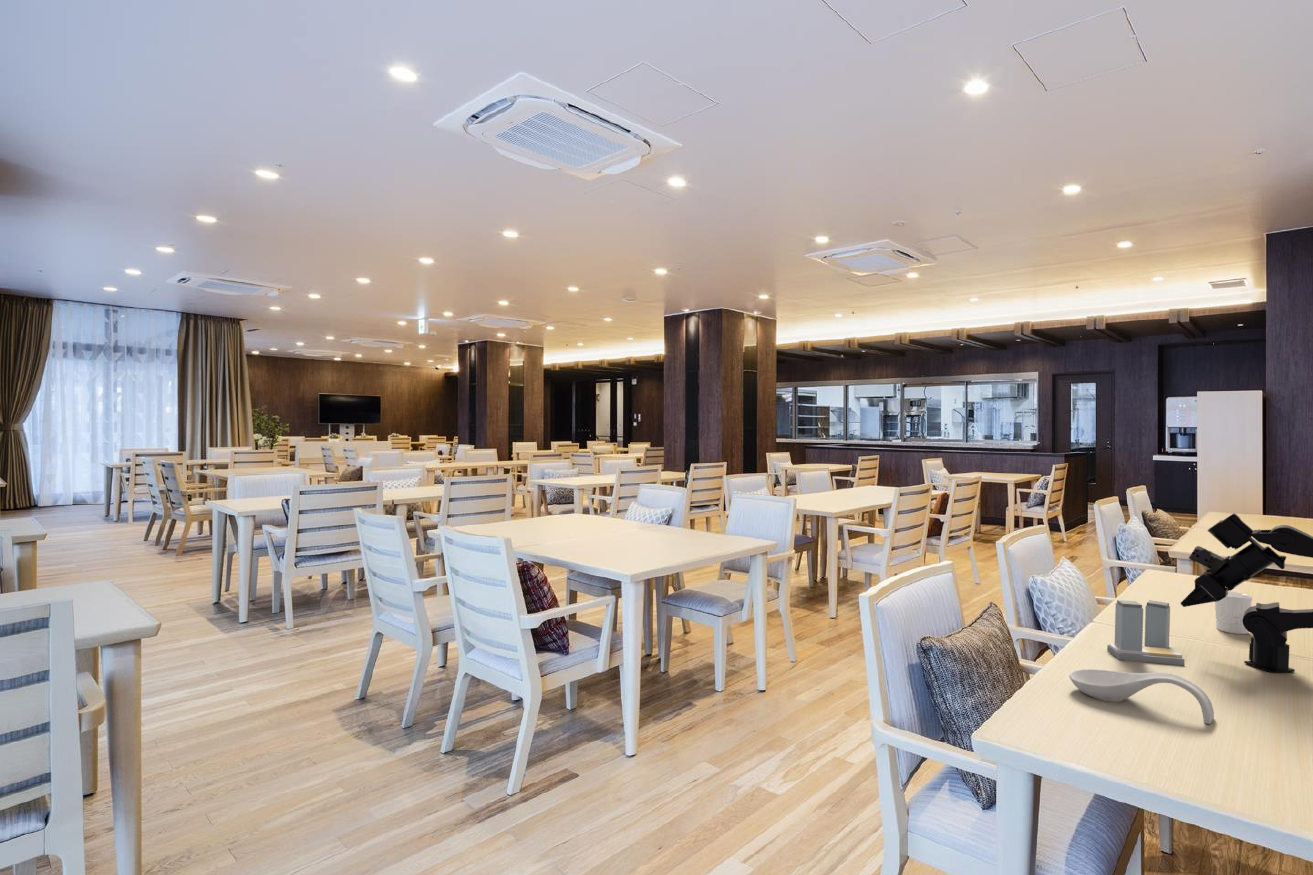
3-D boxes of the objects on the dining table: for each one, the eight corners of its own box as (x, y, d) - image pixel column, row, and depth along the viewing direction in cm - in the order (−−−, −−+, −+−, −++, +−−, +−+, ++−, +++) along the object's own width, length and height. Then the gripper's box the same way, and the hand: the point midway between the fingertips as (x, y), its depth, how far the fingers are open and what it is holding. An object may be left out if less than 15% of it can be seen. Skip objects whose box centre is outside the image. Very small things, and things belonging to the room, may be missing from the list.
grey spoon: (1062, 695, 143) (1063, 661, 143) (1077, 681, 152) (1078, 648, 151) (1208, 732, 127) (1210, 693, 127) (1216, 713, 135) (1217, 676, 135)
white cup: (1258, 635, 188) (1260, 598, 188) (1229, 634, 188) (1230, 597, 188) (1235, 626, 196) (1236, 591, 195) (1206, 626, 196) (1207, 590, 196)
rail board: (1170, 655, 169) (1170, 647, 169) (1184, 665, 162) (1184, 656, 162) (1107, 650, 172) (1107, 642, 172) (1118, 659, 166) (1118, 651, 166)
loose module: (1169, 646, 177) (1170, 603, 176) (1165, 649, 174) (1166, 605, 174) (1148, 642, 180) (1149, 599, 180) (1144, 645, 177) (1145, 602, 177)
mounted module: (1135, 646, 170) (1136, 601, 169) (1142, 651, 166) (1143, 605, 166) (1114, 644, 171) (1115, 599, 171) (1121, 649, 167) (1122, 603, 167)
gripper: (1220, 533, 175) (1165, 570, 183) (1208, 541, 162) (1149, 580, 170) (1261, 569, 169) (1202, 606, 177) (1252, 580, 156) (1189, 619, 164)
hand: (1185, 601), depth 172 cm, fingers open, 9 cm apart
